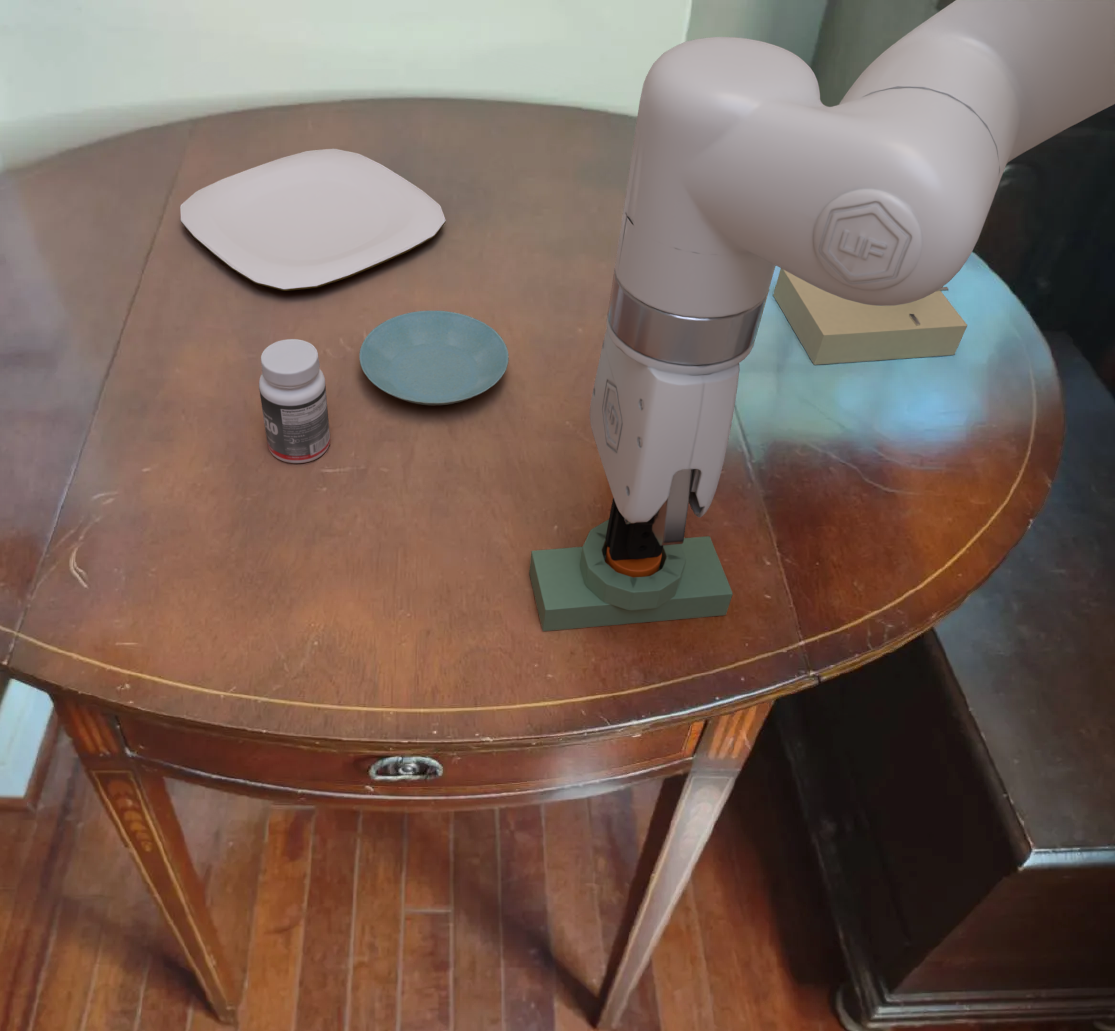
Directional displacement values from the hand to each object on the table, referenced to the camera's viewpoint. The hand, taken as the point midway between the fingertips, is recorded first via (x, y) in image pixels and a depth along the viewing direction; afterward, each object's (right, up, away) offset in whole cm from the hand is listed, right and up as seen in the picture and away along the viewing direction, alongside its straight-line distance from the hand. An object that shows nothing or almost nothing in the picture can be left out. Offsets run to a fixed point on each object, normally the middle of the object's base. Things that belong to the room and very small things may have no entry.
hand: (632, 549), depth 66 cm
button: (0, -1, +1) cm, 2 cm away
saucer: (-12, +13, +19) cm, 26 cm away
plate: (-24, +30, +35) cm, 52 cm away
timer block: (0, -3, +3) cm, 4 cm away
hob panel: (+24, +19, +24) cm, 38 cm away
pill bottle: (-23, +7, +13) cm, 27 cm away
